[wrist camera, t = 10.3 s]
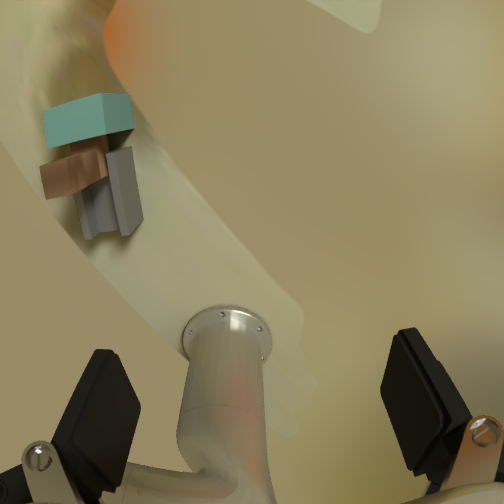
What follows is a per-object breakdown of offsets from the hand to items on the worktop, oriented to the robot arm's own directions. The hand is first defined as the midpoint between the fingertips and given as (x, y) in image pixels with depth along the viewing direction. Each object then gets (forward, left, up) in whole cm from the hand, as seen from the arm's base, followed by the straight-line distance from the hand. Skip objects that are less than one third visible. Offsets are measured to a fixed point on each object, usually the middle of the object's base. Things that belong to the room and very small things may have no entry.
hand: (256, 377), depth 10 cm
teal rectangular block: (+10, +16, -28) cm, 34 cm away
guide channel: (+2, +16, -28) cm, 33 cm away
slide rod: (+7, +16, -25) cm, 30 cm away
